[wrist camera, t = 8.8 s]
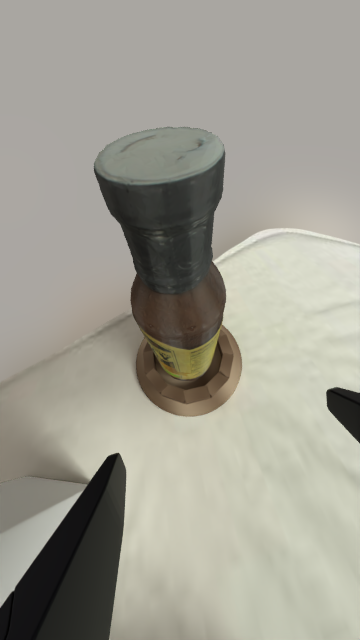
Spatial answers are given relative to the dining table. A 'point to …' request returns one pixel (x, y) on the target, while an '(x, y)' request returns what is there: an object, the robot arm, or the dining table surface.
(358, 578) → the dining table surface
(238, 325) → the dining table surface
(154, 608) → the dining table surface
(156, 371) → the ring holder
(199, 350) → the sauce bottle
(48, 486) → the milk carton
